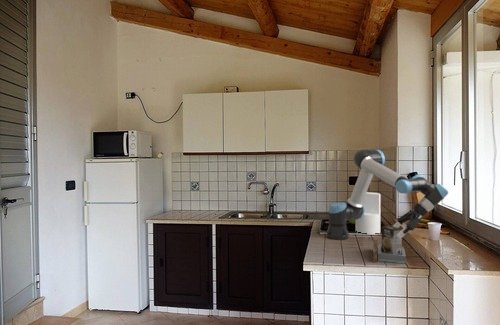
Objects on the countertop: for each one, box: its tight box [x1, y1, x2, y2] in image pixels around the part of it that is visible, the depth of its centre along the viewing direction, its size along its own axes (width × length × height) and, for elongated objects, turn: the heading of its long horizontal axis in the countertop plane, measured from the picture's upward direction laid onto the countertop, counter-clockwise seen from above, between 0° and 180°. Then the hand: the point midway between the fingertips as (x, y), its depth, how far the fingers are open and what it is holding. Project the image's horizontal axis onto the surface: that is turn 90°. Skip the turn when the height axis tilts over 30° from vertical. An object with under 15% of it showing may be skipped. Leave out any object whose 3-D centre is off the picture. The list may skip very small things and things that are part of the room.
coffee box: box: [381, 225, 403, 255], centre depth 197 cm, size 9×6×16 cm
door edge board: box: [372, 239, 379, 263], centre depth 201 cm, size 2×24×6 cm, turn 159°
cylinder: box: [355, 191, 382, 235], centre depth 257 cm, size 17×17×28 cm
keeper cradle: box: [377, 244, 407, 264], centre depth 198 cm, size 14×17×4 cm
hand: (394, 233), depth 196 cm, fingers open, 13 cm apart
